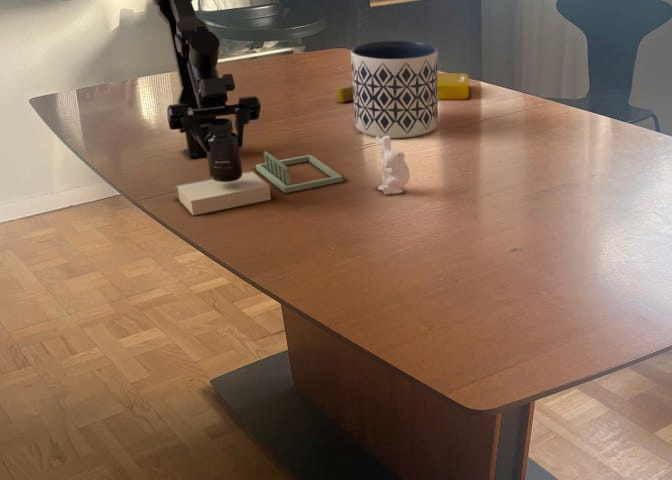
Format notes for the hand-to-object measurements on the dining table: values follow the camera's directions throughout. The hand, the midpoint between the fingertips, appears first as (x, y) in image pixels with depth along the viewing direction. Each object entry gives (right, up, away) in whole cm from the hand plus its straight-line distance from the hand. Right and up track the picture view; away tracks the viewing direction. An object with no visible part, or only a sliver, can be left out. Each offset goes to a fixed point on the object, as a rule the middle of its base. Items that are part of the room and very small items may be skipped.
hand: (224, 148), depth 173 cm
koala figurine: (+34, -7, +11) cm, 37 cm away
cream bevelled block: (-2, -9, +7) cm, 12 cm away
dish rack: (+12, -1, +20) cm, 23 cm away
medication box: (+19, +33, +76) cm, 85 cm away
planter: (+33, +18, +52) cm, 64 cm away
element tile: (+45, +36, +82) cm, 101 cm away
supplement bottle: (-1, -5, +5) cm, 7 cm away
